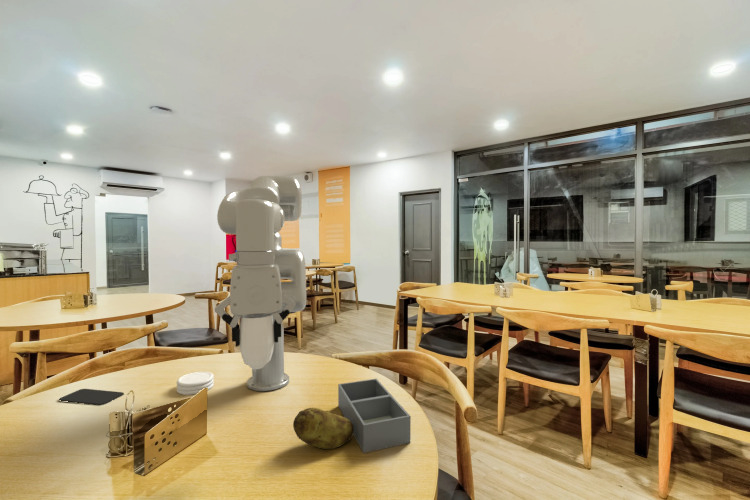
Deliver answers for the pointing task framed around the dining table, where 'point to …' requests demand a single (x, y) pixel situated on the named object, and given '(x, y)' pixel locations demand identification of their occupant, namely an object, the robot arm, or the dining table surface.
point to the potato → (322, 428)
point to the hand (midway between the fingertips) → (257, 341)
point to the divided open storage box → (374, 415)
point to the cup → (256, 339)
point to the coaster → (194, 382)
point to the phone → (92, 396)
